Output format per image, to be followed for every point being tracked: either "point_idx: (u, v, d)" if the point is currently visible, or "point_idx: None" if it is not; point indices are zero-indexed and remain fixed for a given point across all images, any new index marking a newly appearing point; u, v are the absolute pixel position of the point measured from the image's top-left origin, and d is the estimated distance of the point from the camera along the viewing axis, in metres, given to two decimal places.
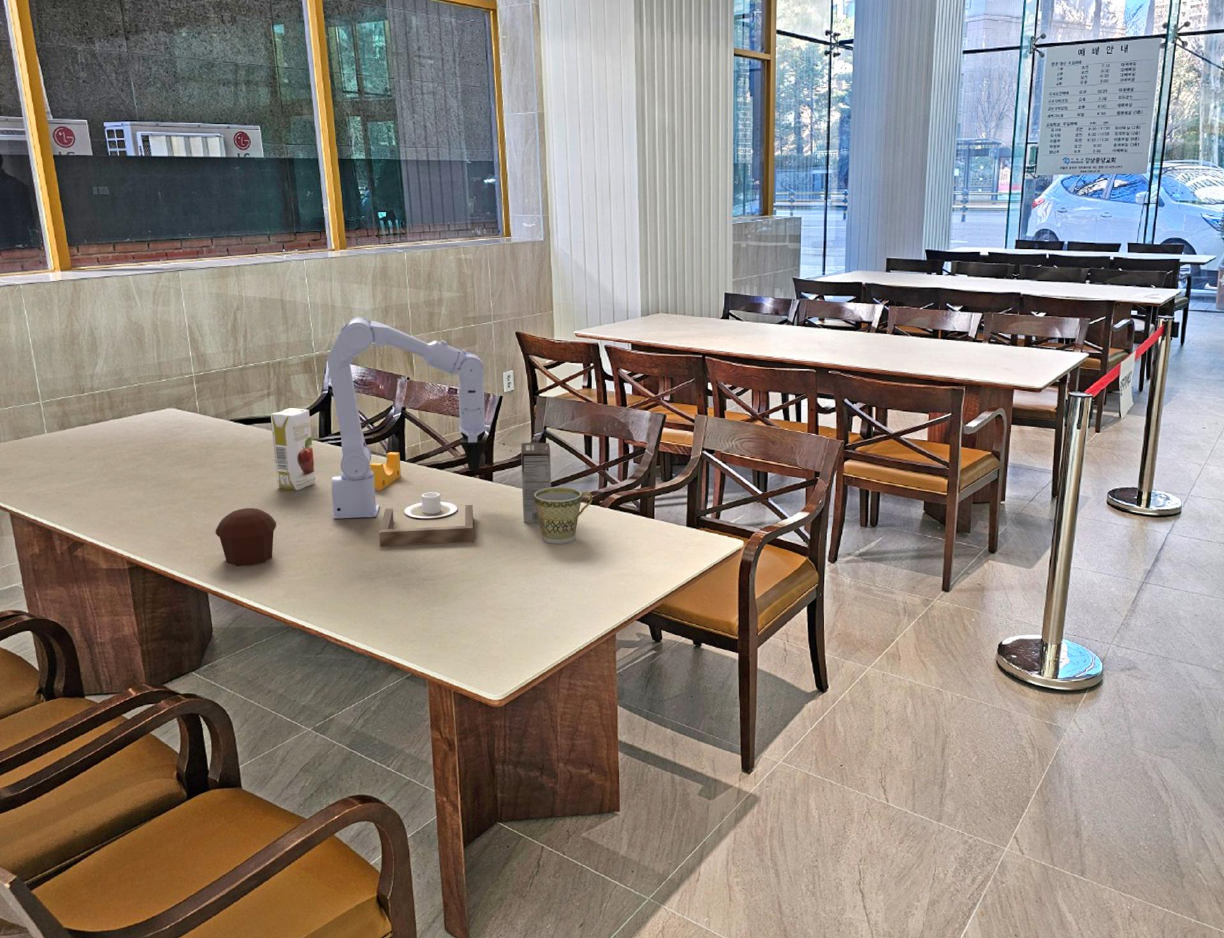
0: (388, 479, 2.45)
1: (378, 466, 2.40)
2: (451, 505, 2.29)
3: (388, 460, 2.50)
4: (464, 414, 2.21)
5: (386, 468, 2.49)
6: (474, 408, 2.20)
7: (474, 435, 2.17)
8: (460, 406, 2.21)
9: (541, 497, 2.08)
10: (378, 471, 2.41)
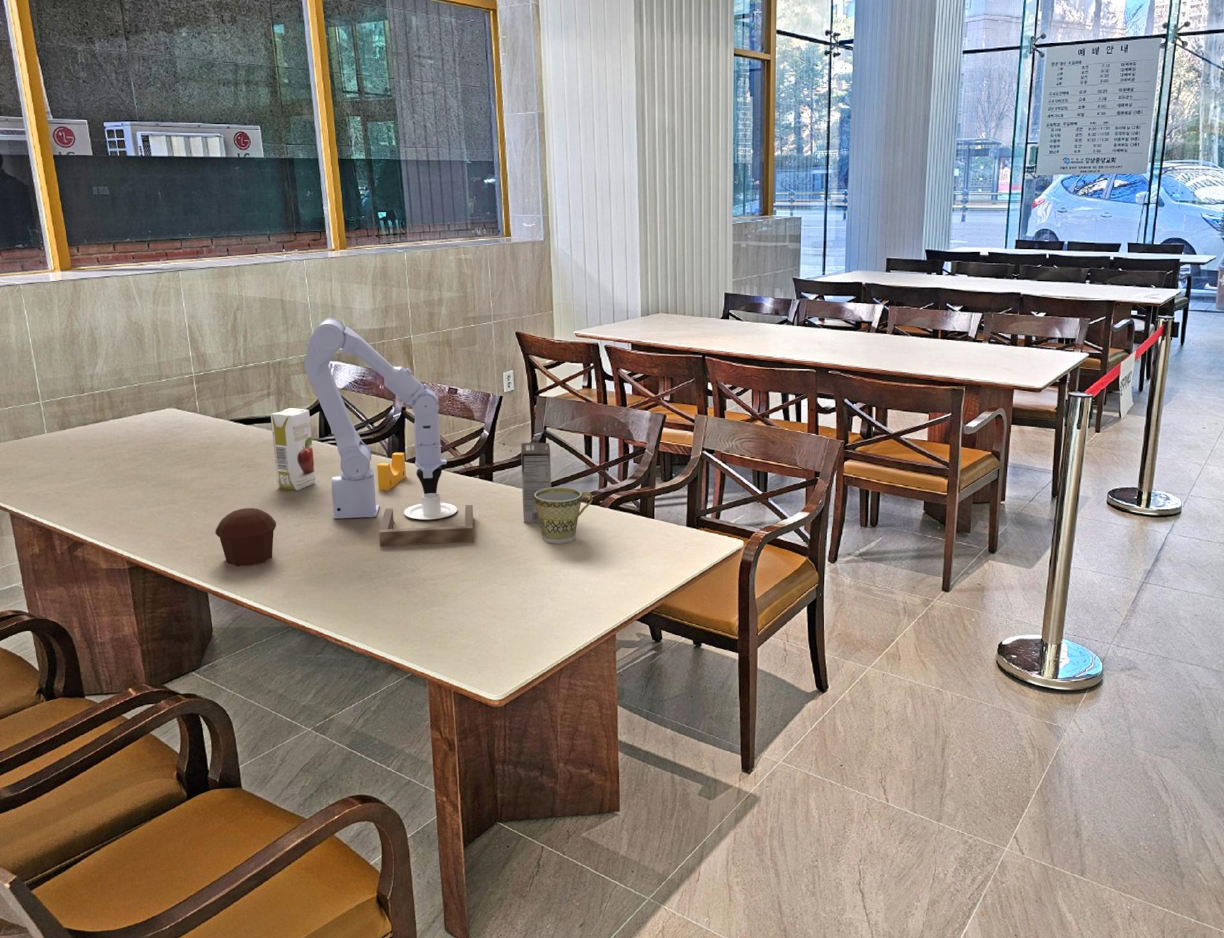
0: (394, 480, 2.45)
1: (385, 466, 2.40)
2: (450, 506, 2.27)
3: (393, 460, 2.50)
4: (419, 449, 2.21)
5: (392, 468, 2.49)
6: (429, 443, 2.21)
7: (429, 471, 2.18)
8: (415, 441, 2.22)
9: (541, 497, 2.08)
10: (385, 471, 2.40)
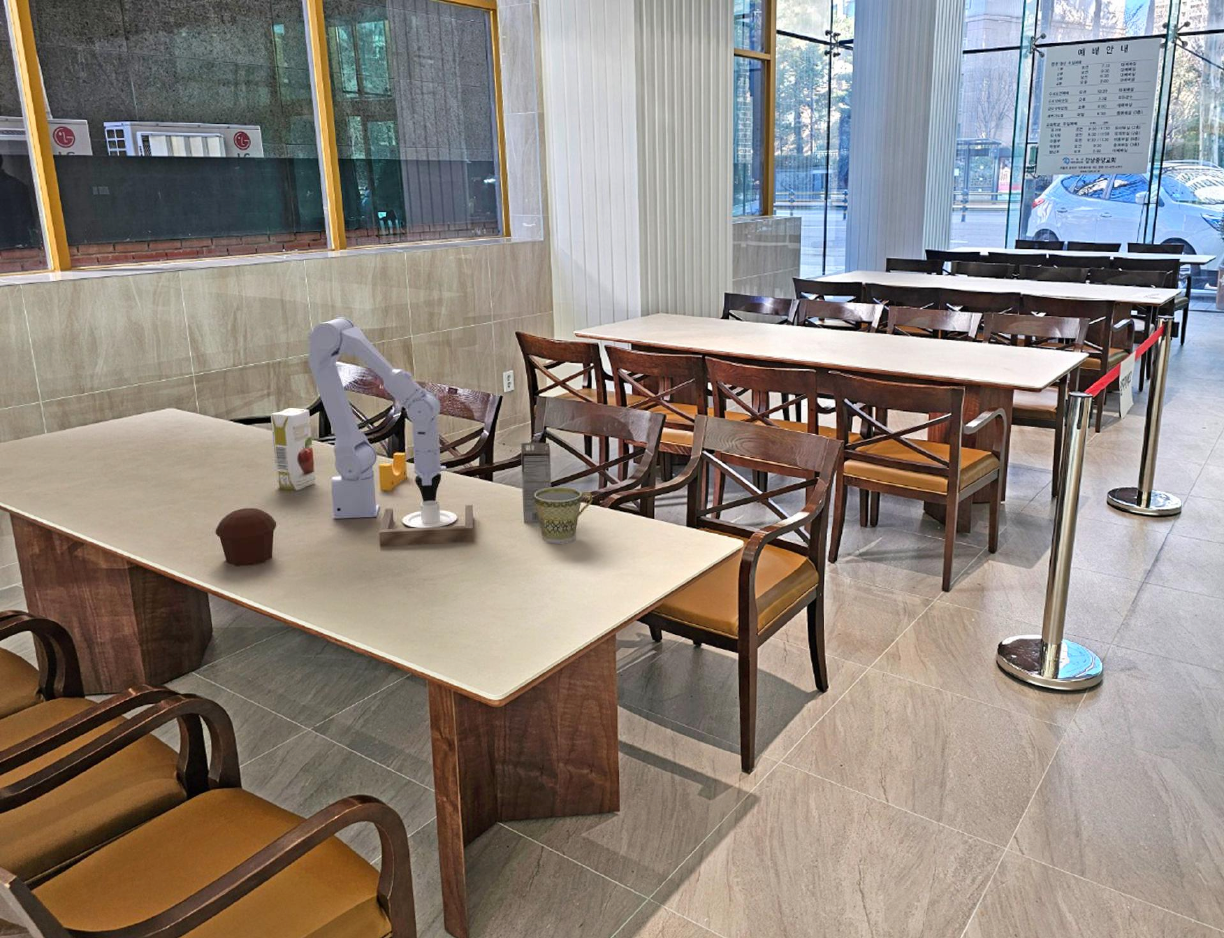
0: (396, 480, 2.45)
1: (387, 466, 2.40)
2: (450, 514, 2.22)
3: (395, 461, 2.50)
4: (418, 456, 2.16)
5: (393, 469, 2.49)
6: (424, 450, 2.15)
7: (428, 478, 2.12)
8: (413, 446, 2.17)
9: (541, 497, 2.08)
10: (387, 472, 2.40)
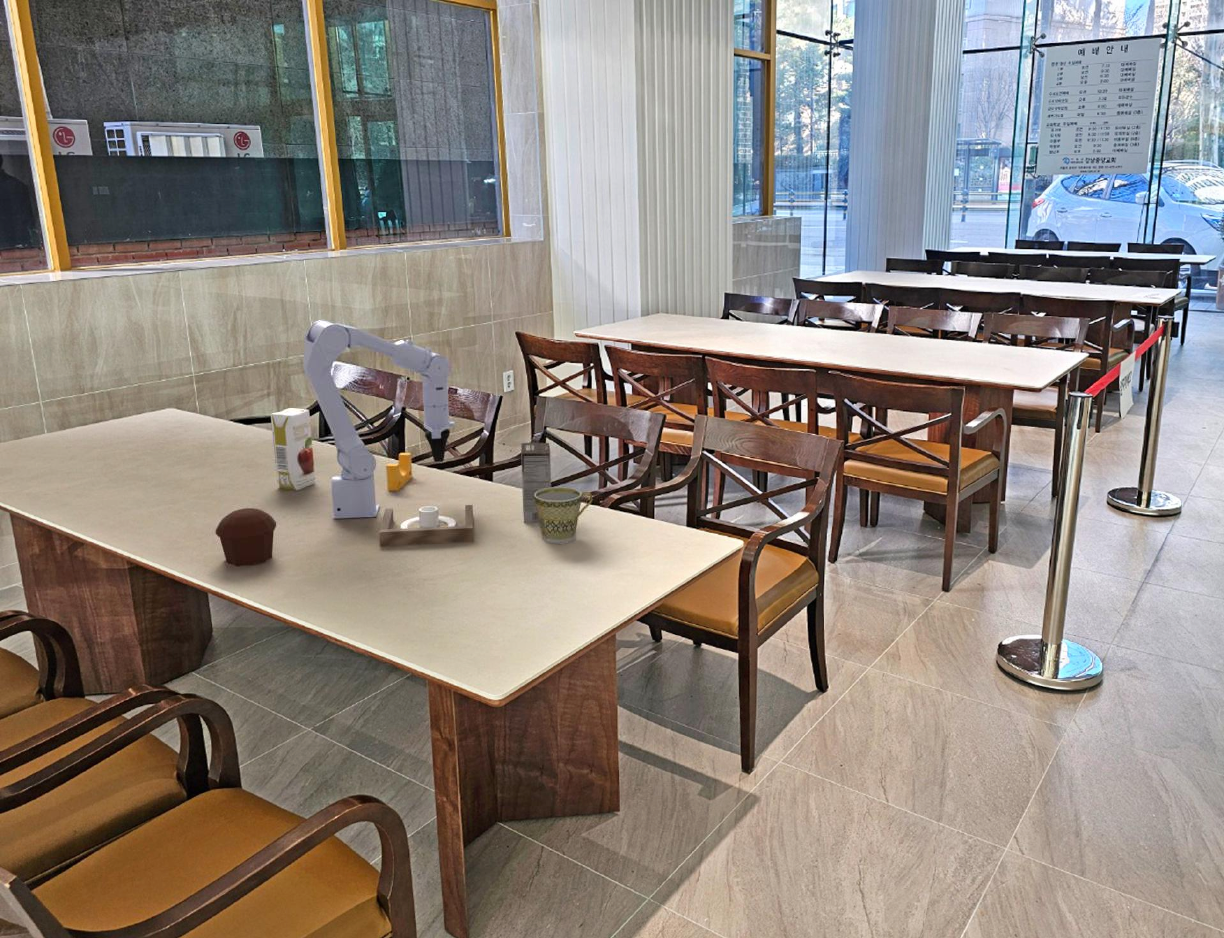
0: (402, 480, 2.45)
1: (395, 467, 2.40)
2: (449, 519, 2.19)
3: (400, 461, 2.50)
4: (428, 411, 2.26)
5: (399, 469, 2.49)
6: (442, 404, 2.26)
7: (437, 431, 2.23)
8: (427, 404, 2.26)
9: (541, 497, 2.08)
10: (395, 472, 2.40)
